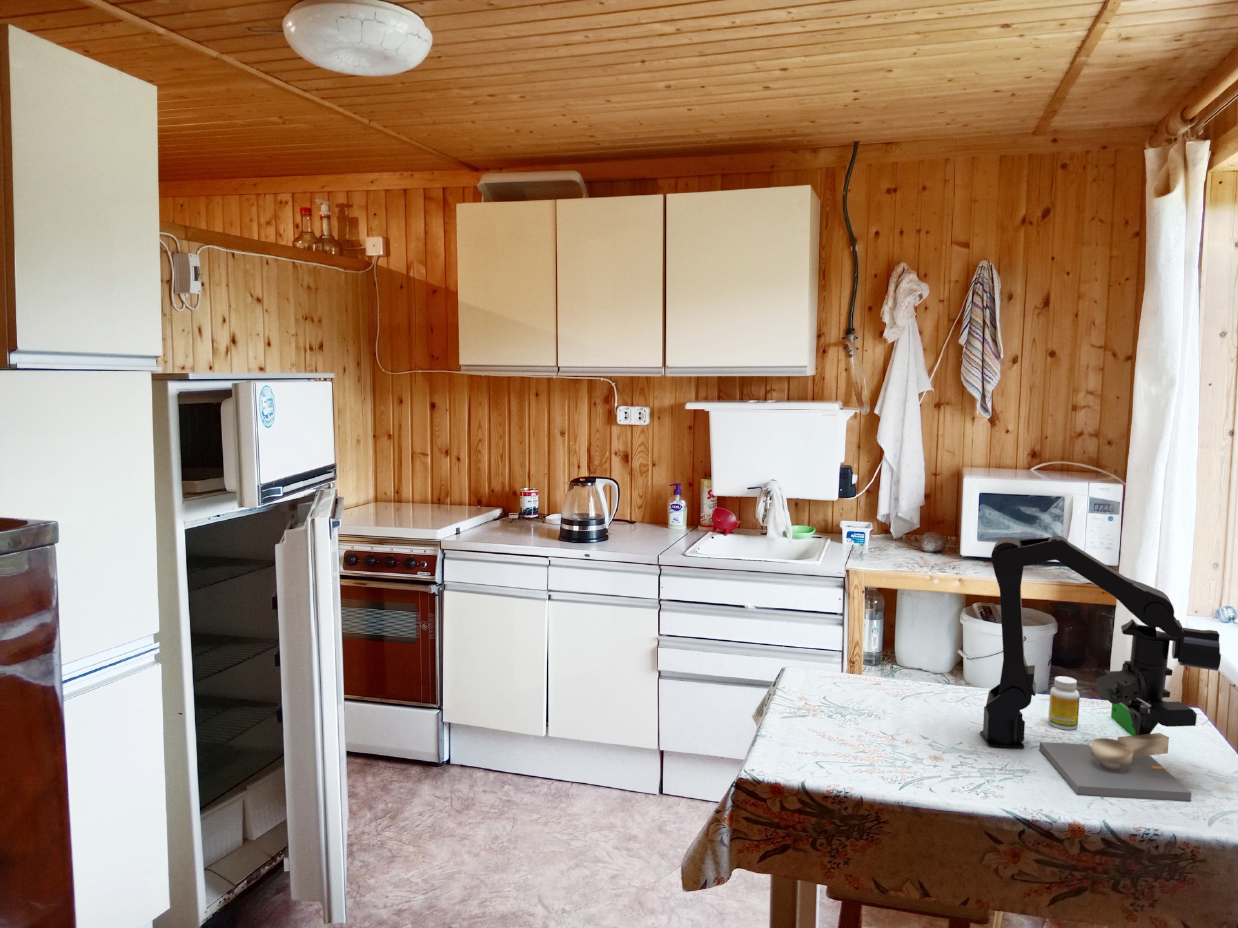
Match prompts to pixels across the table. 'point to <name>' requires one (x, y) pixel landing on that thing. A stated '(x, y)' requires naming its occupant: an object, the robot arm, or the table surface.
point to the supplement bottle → (1064, 703)
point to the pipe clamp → (1123, 717)
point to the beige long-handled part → (1129, 747)
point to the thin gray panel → (1113, 774)
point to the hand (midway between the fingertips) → (1140, 741)
